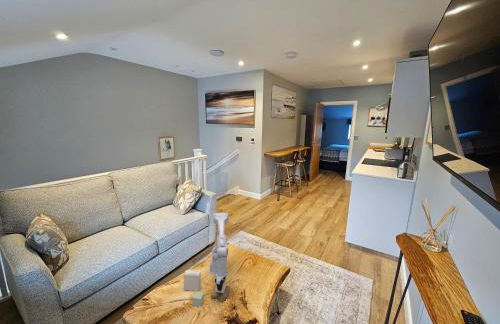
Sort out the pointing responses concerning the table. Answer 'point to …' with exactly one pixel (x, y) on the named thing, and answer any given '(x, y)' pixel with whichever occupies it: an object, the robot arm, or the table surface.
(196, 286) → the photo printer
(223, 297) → the walnut base
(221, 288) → the robot arm
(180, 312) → the table surface
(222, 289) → the cream cube
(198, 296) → the sage cube
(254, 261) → the table surface
